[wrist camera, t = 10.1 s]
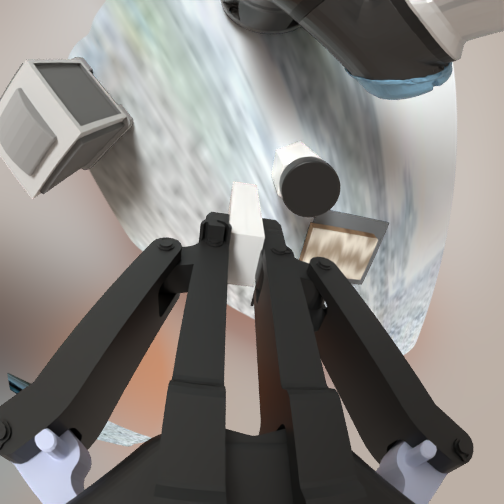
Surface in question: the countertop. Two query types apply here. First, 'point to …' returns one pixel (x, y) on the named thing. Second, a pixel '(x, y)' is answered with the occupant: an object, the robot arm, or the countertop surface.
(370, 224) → the mat
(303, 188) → the jar
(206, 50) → the countertop surface
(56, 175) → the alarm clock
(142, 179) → the countertop surface
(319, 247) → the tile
